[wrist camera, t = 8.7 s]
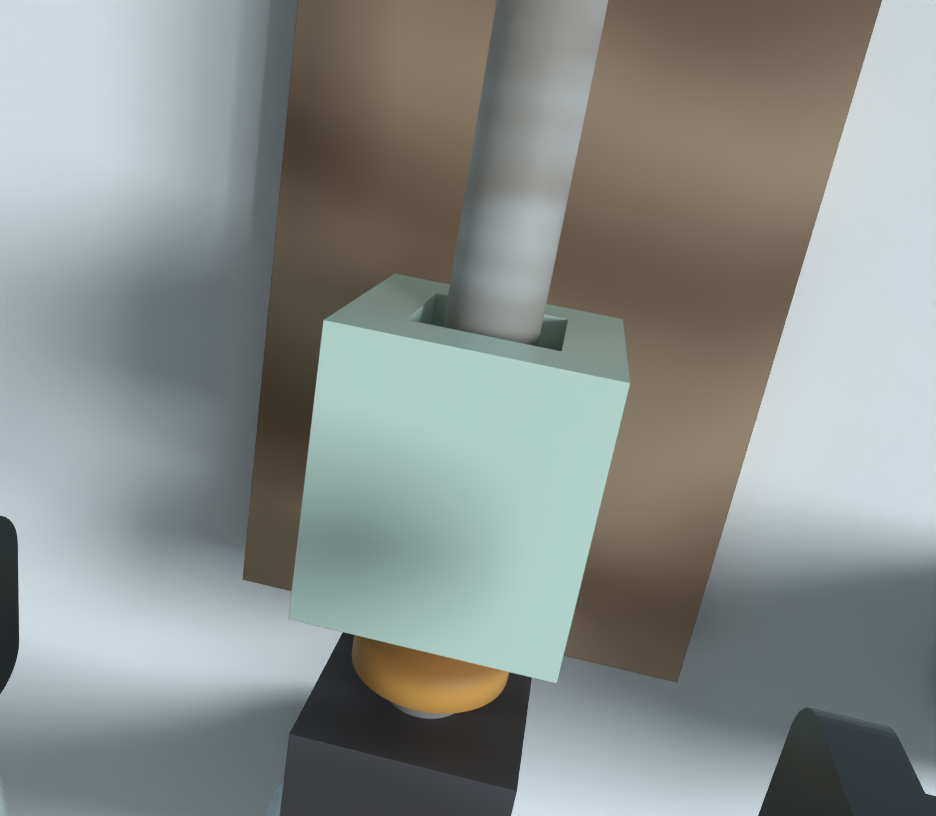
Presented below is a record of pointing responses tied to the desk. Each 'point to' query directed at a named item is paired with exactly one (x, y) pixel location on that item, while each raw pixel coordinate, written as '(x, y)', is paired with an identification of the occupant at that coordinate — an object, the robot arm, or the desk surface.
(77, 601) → the desk surface
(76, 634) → the desk surface
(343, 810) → the rod stand
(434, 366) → the sleeve
